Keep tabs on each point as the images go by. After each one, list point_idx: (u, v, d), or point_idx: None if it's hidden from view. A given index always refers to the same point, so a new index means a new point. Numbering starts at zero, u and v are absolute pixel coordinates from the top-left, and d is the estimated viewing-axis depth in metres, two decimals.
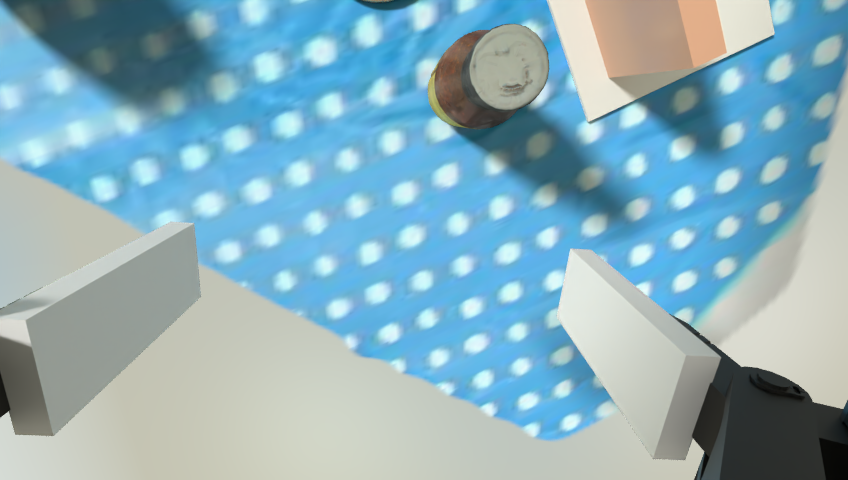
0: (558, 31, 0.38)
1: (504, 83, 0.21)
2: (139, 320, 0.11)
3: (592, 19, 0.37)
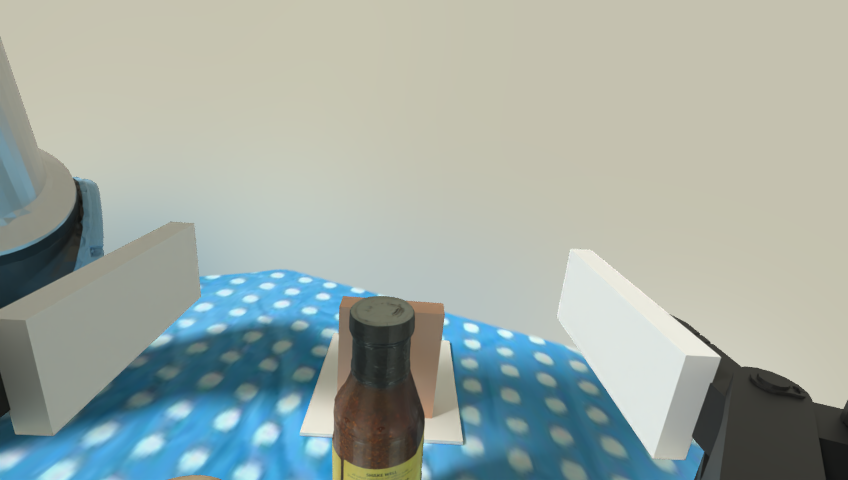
0: None
1: (390, 313, 0.25)
2: (139, 321, 0.11)
3: None
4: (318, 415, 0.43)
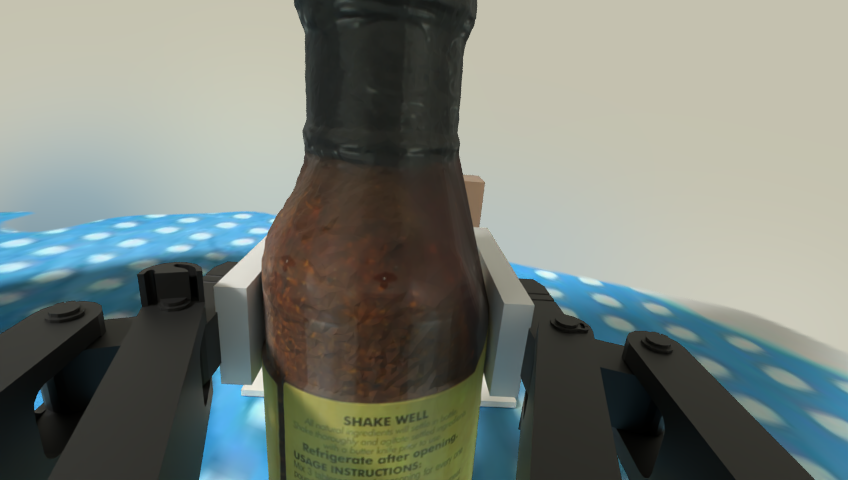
0: None
1: None
2: None
3: None
4: None
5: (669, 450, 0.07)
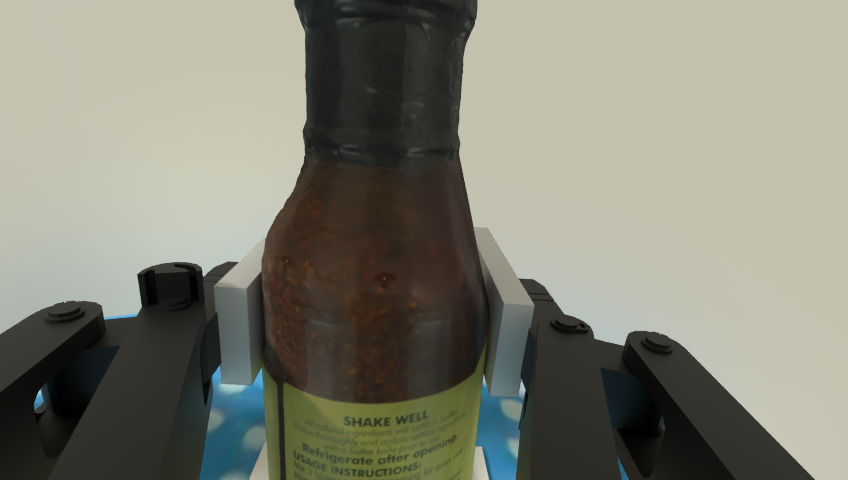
0: None
1: None
2: None
3: None
4: None
5: (669, 450, 0.07)
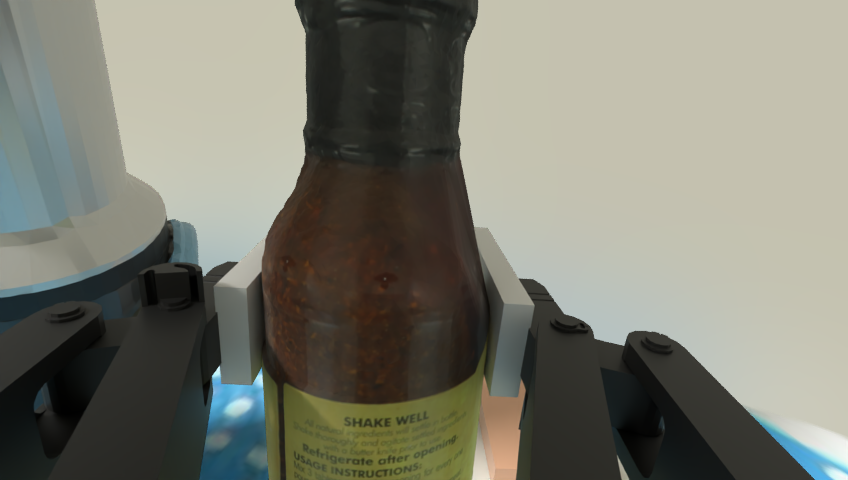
0: None
1: None
2: None
3: None
4: None
5: (669, 450, 0.07)
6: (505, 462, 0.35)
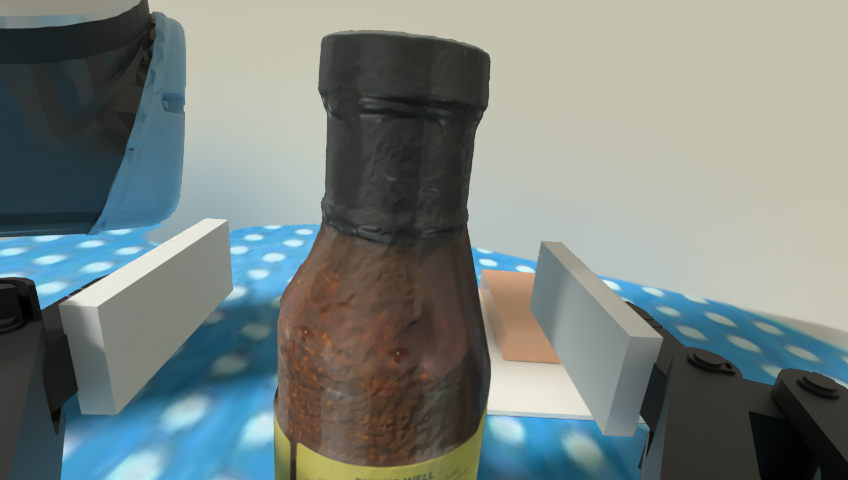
0: (581, 416, 0.28)
1: None
2: (183, 311, 0.12)
3: None
4: None
5: None
6: (518, 331, 0.33)
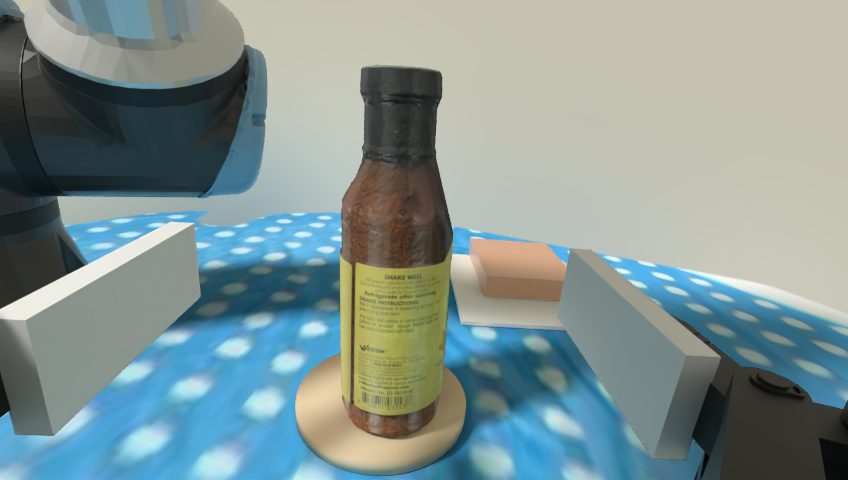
0: (538, 326, 0.39)
1: None
2: (139, 320, 0.11)
3: (530, 277, 0.44)
4: (471, 309, 0.41)
5: None
6: (494, 274, 0.44)
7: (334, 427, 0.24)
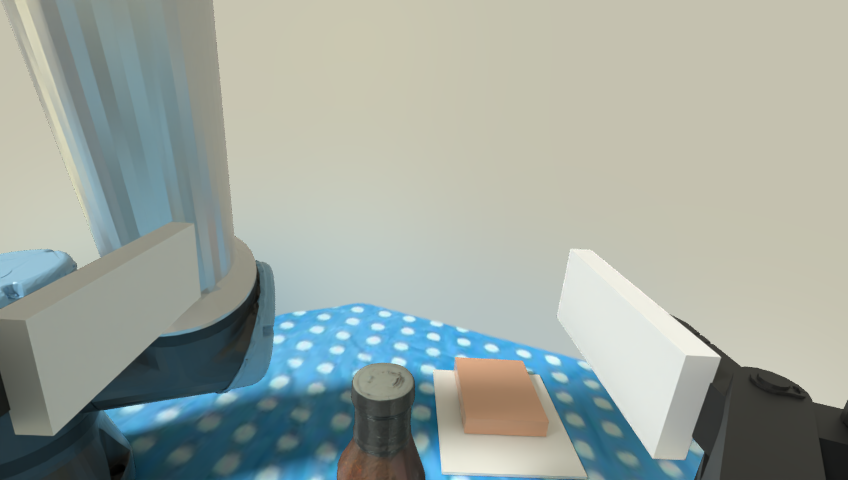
0: (509, 474, 0.46)
1: (391, 384, 0.26)
2: (139, 320, 0.11)
3: (504, 417, 0.50)
4: (452, 454, 0.47)
5: None
6: (473, 415, 0.50)
7: None
